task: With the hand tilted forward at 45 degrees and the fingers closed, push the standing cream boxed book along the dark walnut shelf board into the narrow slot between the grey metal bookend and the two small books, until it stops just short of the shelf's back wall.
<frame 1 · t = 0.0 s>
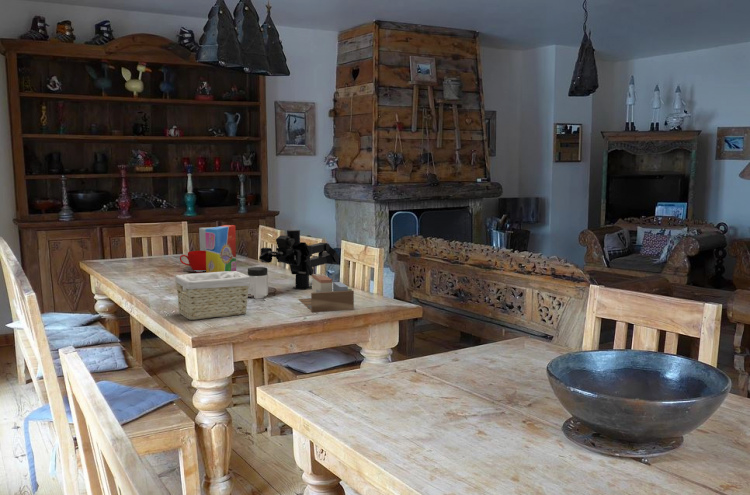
hand: (268, 258, 273), 17 cm above the table, tool horizontal, fingers open, 9 cm apart
bookend: (317, 310, 253), resting on shelf
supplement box: (213, 258, 392), on the table
shelf: (327, 308, 257), on the table
small books: (342, 308, 257), resting on shelf
boxed book: (322, 301, 264), point 1 cm above the table, touching shelf
game box: (222, 287, 300), on the table
jar: (258, 297, 278), on the table
ceramic cup: (197, 272, 341), on the table
storage basket: (213, 314, 246), on the table
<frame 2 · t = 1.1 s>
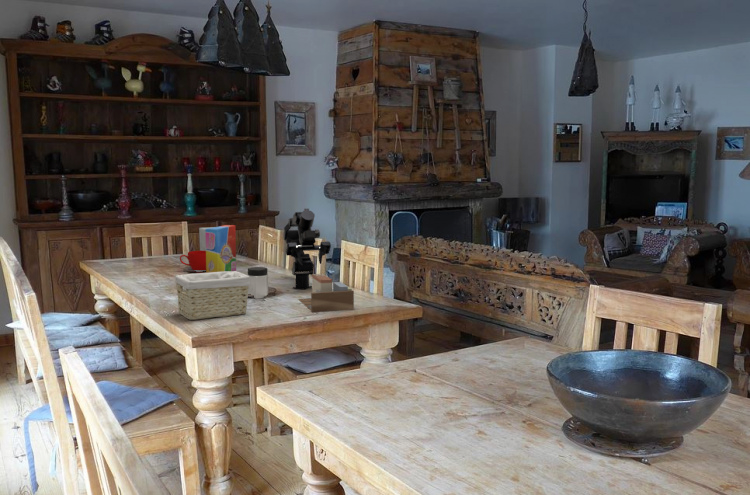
hand: (311, 264, 278), 14 cm above the table, tool tilted 45°, fingers open, 8 cm apart
nothing on the table moved.
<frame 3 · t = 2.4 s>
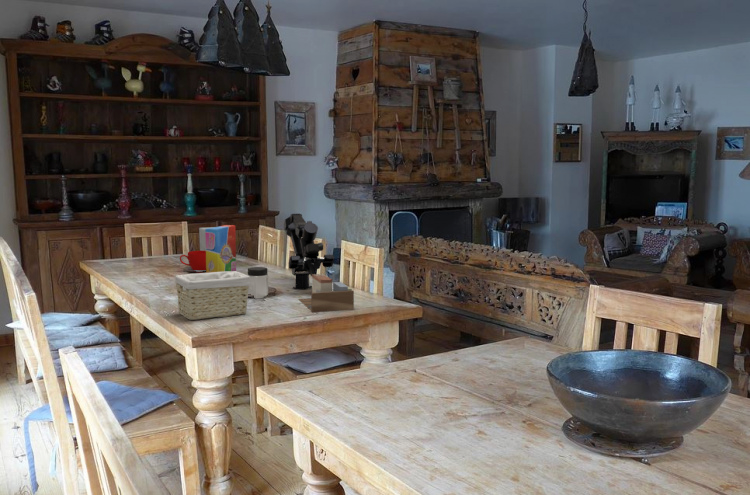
hand: (314, 277, 274), 9 cm above the table, tool tilted 45°, fingers closed
nothing on the table moved.
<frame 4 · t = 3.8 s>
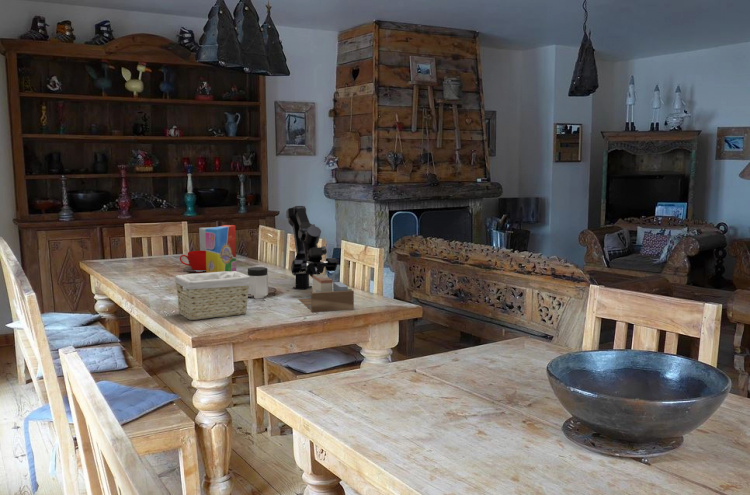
hand: (318, 282, 269), 8 cm above the table, tool tilted 45°, fingers closed, pressing on boxed book
boxed book: (322, 302, 263), point 1 cm above the table, touching gripper, shelf
everything else where it was.
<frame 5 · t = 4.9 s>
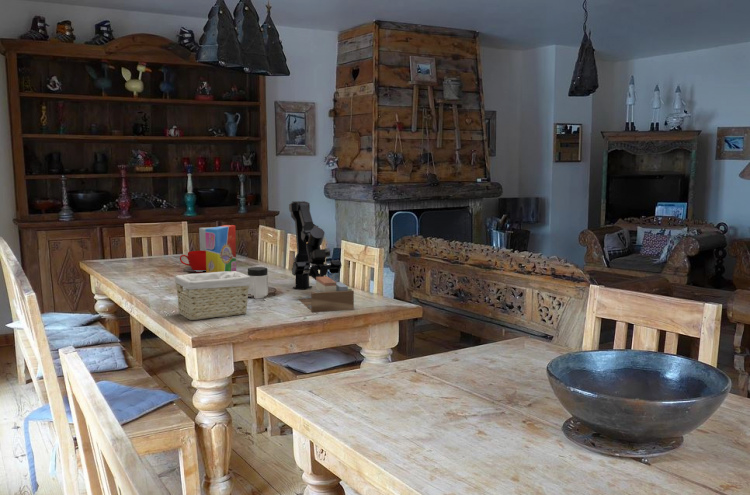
hand: (321, 284, 264), 8 cm above the table, tool tilted 45°, fingers closed
boxed book: (326, 305, 258), point 1 cm above the table, touching shelf
everything else where it was.
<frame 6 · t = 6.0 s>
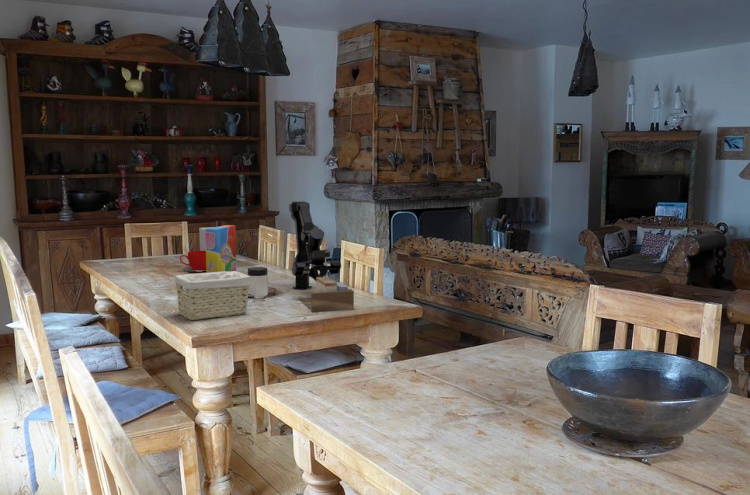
hand: (321, 285, 265), 7 cm above the table, tool tilted 45°, fingers closed
nothing on the table moved.
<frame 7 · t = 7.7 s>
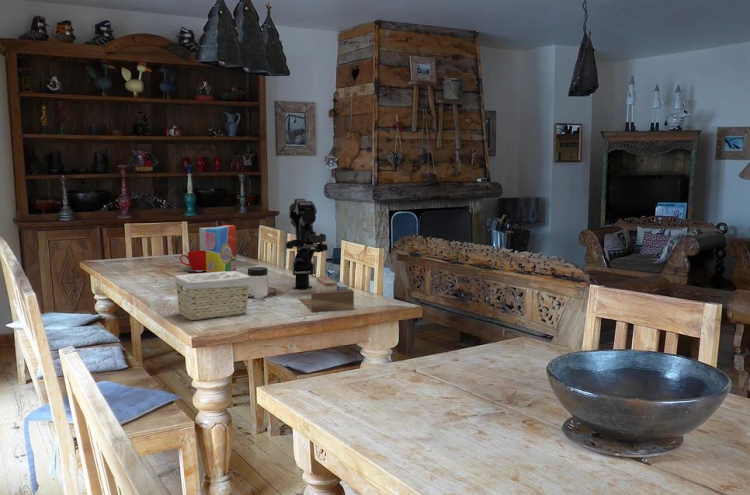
hand: (308, 266, 277), 13 cm above the table, tool tilted 20°, fingers closed
nothing on the table moved.
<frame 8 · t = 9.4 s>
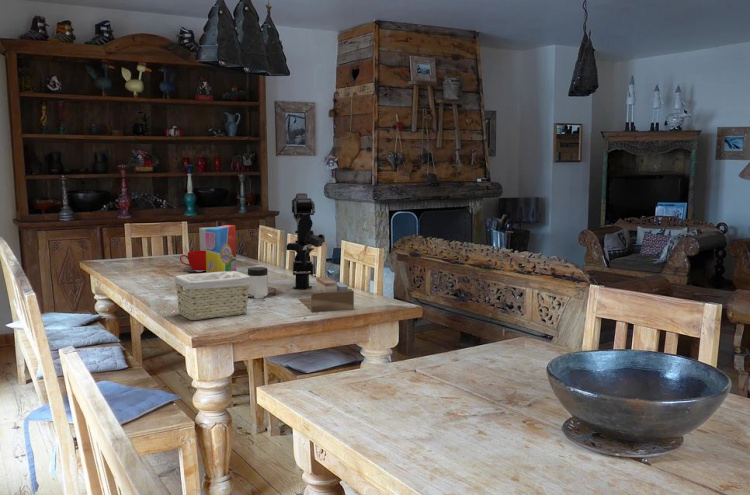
hand: (304, 265, 279), 13 cm above the table, tool pointing down, fingers closed
nothing on the table moved.
at the end: boxed book 0.6 cm off-centre on the shelf, point 1.0 cm above the shelf's base; boxed book tilted 0°; the gripper is holding nothing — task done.
